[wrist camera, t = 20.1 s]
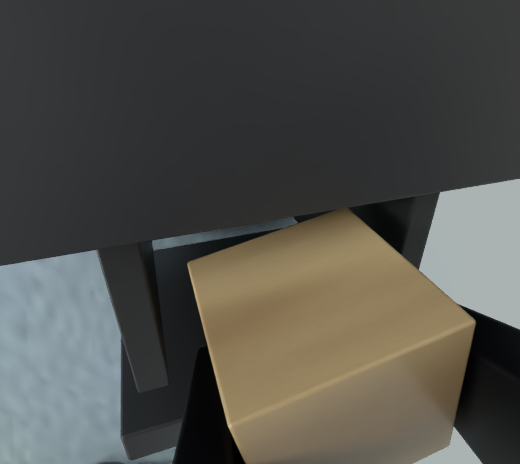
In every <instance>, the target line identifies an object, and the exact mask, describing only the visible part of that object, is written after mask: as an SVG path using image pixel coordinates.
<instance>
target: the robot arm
mask: <svg viewBox="0 0 520 464" xmlns="http://www.w3.org/2000/svg"><path fill="white" fill-rule="evenodd" d="M458 305H459V304H458ZM459 306H460V307H461V308H462V309H463V310H465V311H466V312H467V313H468V314H469V315H470V316H471V317H473V318H474V320H475V322H476V325H475V330H474V334H473V339H472V344H471V348H470V353H469V357H468V362H467V367H466V371H465V376H464V380H463V385H462V390H461V394H460V399H459V403H458V408H457V412H456V417H455V422H454V427H455V428H456V430H457V431H458V432H459V434H460V435H461V436H462V437H463V439H464V440H465V441H466V443H467V444H468V445H469V446H470V448H471V449H472V450H473V452H474V453H475V454H476V456H477V457H478V458H479V459H480V461H481V462H482V463H483V464H520V330H519V329H517V328H514V327H512V326H510V325H507V324H505V323H502V322H500V321H498V320H495V319H493V318H490V317H488V316H485V315H483V314H481V313H478V312H476V311H473V310H471V309H468V308H466V307H464V306H461V305H459ZM173 464H245V462H244V459H243V457H242V455H241V453H240V451H239V449H238V447H237V444H236V442H235V440H234V438H233V436H232V434H231V432H230V430H229V427H228V425H227V421H226V417H225V413H224V409H223V405H222V401H221V397H220V393H219V389H218V385H217V381H216V377H215V373H214V369H213V365H212V361H211V357H210V353H209V349H208V345H204V346H202V347H200V348H199V350H198V352H197V357H196V361H195V366H194V370H193V375H192V379H191V384H190V388H189V393H188V397H187V402H186V406H185V410H184V415H183V419H182V424H181V428H180V433H179V437H178V442H177V446H176V451H175V455H174V460H173Z"/></svg>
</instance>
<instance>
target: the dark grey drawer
mask: <svg viewBox="0 0 520 464" xmlns="http://www.w3.org/2000/svg"><path fill="white" fill-rule="evenodd" d="M439 194H440V192H437V193H431V194H425V195H419V196H413V197H407V198H401V199H395V200H389V201H383V202H378V203H372V204H366V205H360V206H354V207H348V208H349V209H350V210H351V211H352V212H353V213H354V214H355V215H357V216H358V217H359V218H360V219H361V220H362V221H363V222H364V223H366V224H367V225H368V226H369V227H370V228H371V229H372V230H374V231H375V232H376V233H377V234H378V235H379V236H380V237H382V238H383V239H384V240H385V241H386V242H387V243H388V244H390V245H391V246H392V247H393V248H394V249H395V250H396V251H397V252H399V253H400V254H401V255H402V256H403V257H404V258H405V259H407V260H408V261H409V262H410V263H411V264H412V265H413V266H415V267H416V268H417V269H418V270H419V267H420V263H421V259H422V256H423V252H424V248H425V245H426V241H427V237H428V234H429V230H430V227H431V223H432V219H433V216H434V212H435V208H436V205H437V201H438V197H439ZM336 210H338V209H336ZM332 211H335V210H330V211H324V212H318V213H312V214H306V215H300V216H294V218H295V220H296V221H297V222H298V223H300V222H303V221H306V220H309V219H312V218H315V217H318V216H320V215H323V214H326V213H329V212H332ZM281 229H283V228H281ZM278 230H280V229H276V230H270V231H264V232H258V233H253V234H247V235H241V236H236V237H230V238H224V239H219V240H213V241H207V242H201V243H196V244H190V245H184V246H179V247H173V248H167V249H161V250H156V251H153V246H152V240H151V241H145V242H139V243H133V244H127V245H122V246H116V247H110V248H104V249H98V250H96V251H97V254H98V257H99V261H100V264H101V268H102V271H103V274H104V278H105V281H106V285H107V288H108V291H109V295H110V298H111V302H112V305H113V308H114V312H115V315H116V319H117V322H118V325H119V329H120V332H121V440H122V443H123V445H124V448H125V451H126V453H127V456H128V458H129V460H134V459H137V458H141V457H144V456H147V455H150V454H153V453H156V452H160V451H163V450H166V449H169V448H172V447H176V446H177V442H178V437H179V433H180V428H181V424H182V419H183V415H184V410H185V406H186V402H187V397H188V393H189V388H190V384H191V379H192V375H193V370H194V366H195V361H196V357H197V352H198V350H199V348H200V347H202V346H204V345H207V341H206V337H205V333H204V329H203V325H202V321H201V317H200V313H199V310H198V306H197V302H196V298H195V294H194V290H193V286H192V282H191V278H190V274H189V270H188V266H187V264H188V262H189V261H192V260H195V259H198V258H201V257H203V256H206V255H209V254H212V253H215V252H218V251H221V250H223V249H226V248H229V247H232V246H235V245H238V244H241V243H243V242H246V241H249V240H252V239H255V238H258V237H261V236H263V235H266V234H269V233H272V232H275V231H278Z"/></svg>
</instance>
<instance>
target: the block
mask: <svg viewBox="0 0 520 464" xmlns="http://www.w3.org/2000/svg"><path fill="white" fill-rule="evenodd" d="M187 266H188V270H189V274H190V278H191V282H192V286H193V290H194V294H195V298H196V302H197V306H198V310H199V313H200V317H201V321H202V325H203V329H204V333H205V337H206V341H207V345H208V349H209V353H210V357H211V361H212V365H213V369H214V373H215V377H216V381H217V385H218V389H219V393H220V397H221V401H222V405H223V409H224V413H225V417H226V421H227V425H228V427H229V430H230V432H231V434H232V436H233V438H234V440H235V442H236V444H237V447H238V449H239V451H240V453H241V455H242V457H243V459H244V462H245V464H413V463H415V462H417V461H419V460H421V459H423V458H425V457H427V456H429V455H431V454H433V453H435V452H437V451H439V450H441V449H444V448H445V447H447V446H449V444H450V440H451V435H452V430H453V426H454V422H455V417H456V412H457V408H458V403H459V399H460V394H461V390H462V385H463V380H464V376H465V371H466V367H467V362H468V357H469V353H470V348H471V344H472V339H473V334H474V330H475V325H476V322H475V320H474V318H473V317H471V316H470V315H469V314H468V313H467V312H466V311H465V310H463V309H462V308H461V307H460V306H459V305H458V304H457V303H455V302H454V301H453V300H452V299H451V298H450V297H449V296H448V295H446V294H445V293H444V292H443V291H441V289H440V288H438V287H437V286H436V285H435V284H434V283H433V282H432V281H430V280H429V279H428V278H427V277H426V276H425V275H424V274H423V273H421V272H420V271H419V270H418V269H417V268H416V267H415V266H413V265H412V264H411V263H410V262H409V261H408V260H407V259H405V258H404V257H403V256H402V255H401V254H400V253H399V252H397V251H396V250H395V249H394V248H393V247H392V246H391V245H390V244H388V243H387V242H386V241H385V240H384V239H383V238H382V237H380V236H379V235H378V234H377V233H376V232H375V231H374V230H372V229H371V228H370V227H369V226H368V225H367V224H366V223H364V222H363V221H362V220H361V219H360V218H359V217H358V216H357V215H355V214H354V213H353V212H352V211H351V210H350V209H349V208H342V209H338V210H335V211H332V212H329V213H326V214H323V215H320V216H318V217H315V218H312V219H309V220H306V221H303V222H300V223H298V224H295V225H292V226H289V227H286V228H283V229H280V230H278V231H275V232H272V233H269V234H266V235H263V236H261V237H258V238H255V239H252V240H249V241H246V242H243V243H241V244H238V245H235V246H232V247H229V248H226V249H223V250H221V251H218V252H215V253H212V254H209V255H206V256H203V257H201V258H198V259H195V260H192V261H189V262H188V264H187Z"/></svg>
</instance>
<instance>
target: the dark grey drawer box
mask: <svg viewBox="0 0 520 464" xmlns="http://www.w3.org/2000/svg"><path fill="white" fill-rule="evenodd" d="M514 179H520V0H0V266H2V265H8V264H14V263H20V262H26V261H32V260H38V259H44V258H50V257H56V256H62V255H68V254H74V253H80V252H86V251H92V250H98V249H104V248H110V247H116V246H122V245H127V244H133V243H139V242H145V241H151V240H157V239H163V238H169V237H175V236H181V235H187V234H193V233H199V232H205V231H211V230H217V229H223V228H229V227H235V226H241V225H247V224H252V223H258V222H264V221H270V220H276V219H282V218H288V217H294V216H300V215H306V214H312V213H318V212H324V211H330V210H336V209H342V208H348V207H354V206H360V205H366V204H372V203H378V202H383V201H389V200H395V199H401V198H407V197H413V196H419V195H425V194H431V193H437V192H443V191H449V190H455V189H461V188H467V187H473V186H479V185H485V184H491V183H497V182H502V181H508V180H514Z"/></svg>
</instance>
